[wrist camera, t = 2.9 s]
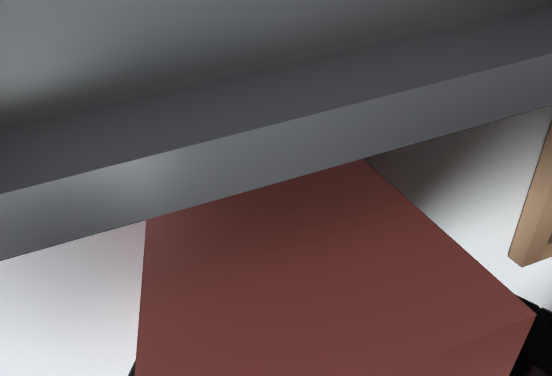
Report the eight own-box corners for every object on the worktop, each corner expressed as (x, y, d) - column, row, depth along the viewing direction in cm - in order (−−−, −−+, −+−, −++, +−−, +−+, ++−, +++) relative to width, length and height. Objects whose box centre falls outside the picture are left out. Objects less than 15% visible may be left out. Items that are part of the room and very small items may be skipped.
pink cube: (355, 284, 11) (469, 463, 7) (205, 336, 10) (233, 570, 6) (352, 149, 8) (537, 313, 4) (147, 206, 8) (127, 474, 3)
